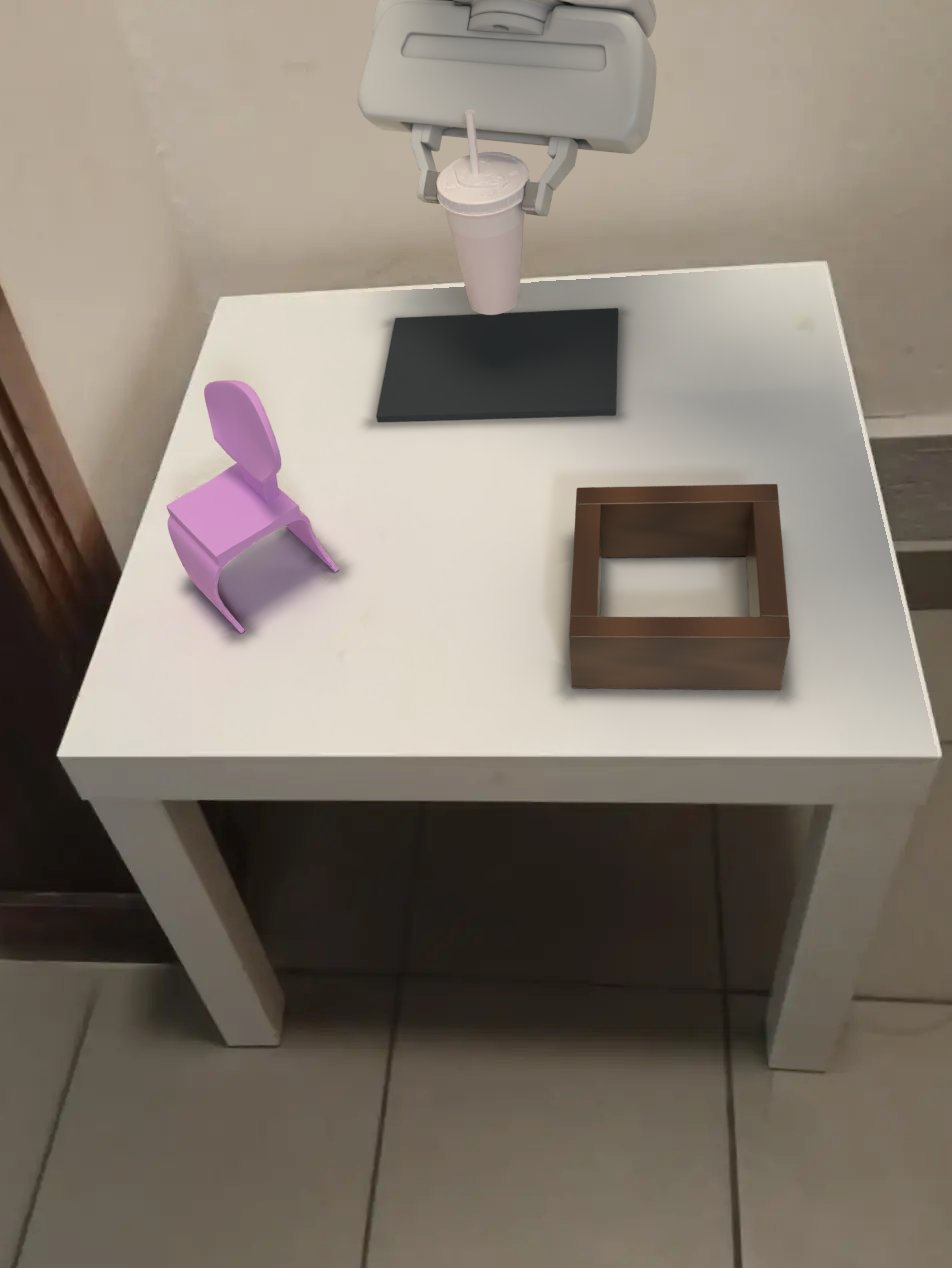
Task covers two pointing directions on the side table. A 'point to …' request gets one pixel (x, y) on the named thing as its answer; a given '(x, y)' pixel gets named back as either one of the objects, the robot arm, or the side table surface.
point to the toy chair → (235, 494)
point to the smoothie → (486, 222)
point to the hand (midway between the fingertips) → (482, 207)
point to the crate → (679, 644)
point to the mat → (501, 366)
